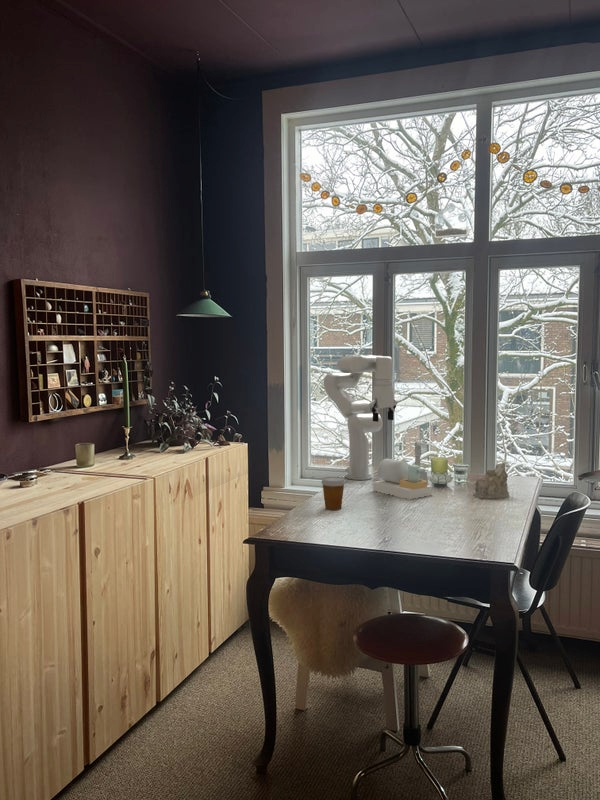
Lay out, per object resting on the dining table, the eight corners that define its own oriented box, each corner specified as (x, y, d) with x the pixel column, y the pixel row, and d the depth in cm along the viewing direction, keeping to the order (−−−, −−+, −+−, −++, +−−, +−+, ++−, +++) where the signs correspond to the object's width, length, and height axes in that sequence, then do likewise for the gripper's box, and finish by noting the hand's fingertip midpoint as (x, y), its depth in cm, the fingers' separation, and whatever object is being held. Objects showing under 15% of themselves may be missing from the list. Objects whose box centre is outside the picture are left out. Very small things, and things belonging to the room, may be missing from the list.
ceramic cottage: (500, 489, 299) (500, 457, 297) (514, 499, 283) (513, 465, 281) (466, 492, 298) (465, 459, 296) (478, 502, 282) (477, 467, 280)
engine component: (426, 481, 317) (405, 481, 318) (426, 439, 316) (405, 438, 316) (429, 486, 306) (407, 486, 307) (430, 442, 305) (408, 442, 305)
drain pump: (405, 486, 288) (405, 465, 287) (412, 484, 291) (413, 464, 290) (418, 489, 282) (418, 468, 281) (426, 487, 285) (426, 466, 284)
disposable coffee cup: (340, 512, 259) (340, 482, 258) (317, 509, 263) (317, 479, 262) (348, 507, 267) (348, 477, 266) (326, 504, 271) (326, 475, 270)
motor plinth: (373, 490, 297) (373, 459, 296) (394, 486, 306) (395, 456, 304) (410, 499, 280) (410, 466, 279) (432, 495, 288) (432, 463, 287)
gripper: (390, 382, 312) (390, 418, 313) (364, 383, 301) (363, 421, 303) (402, 383, 306) (402, 420, 308) (375, 384, 295) (375, 422, 297)
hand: (383, 420), depth 305 cm, fingers open, 9 cm apart
